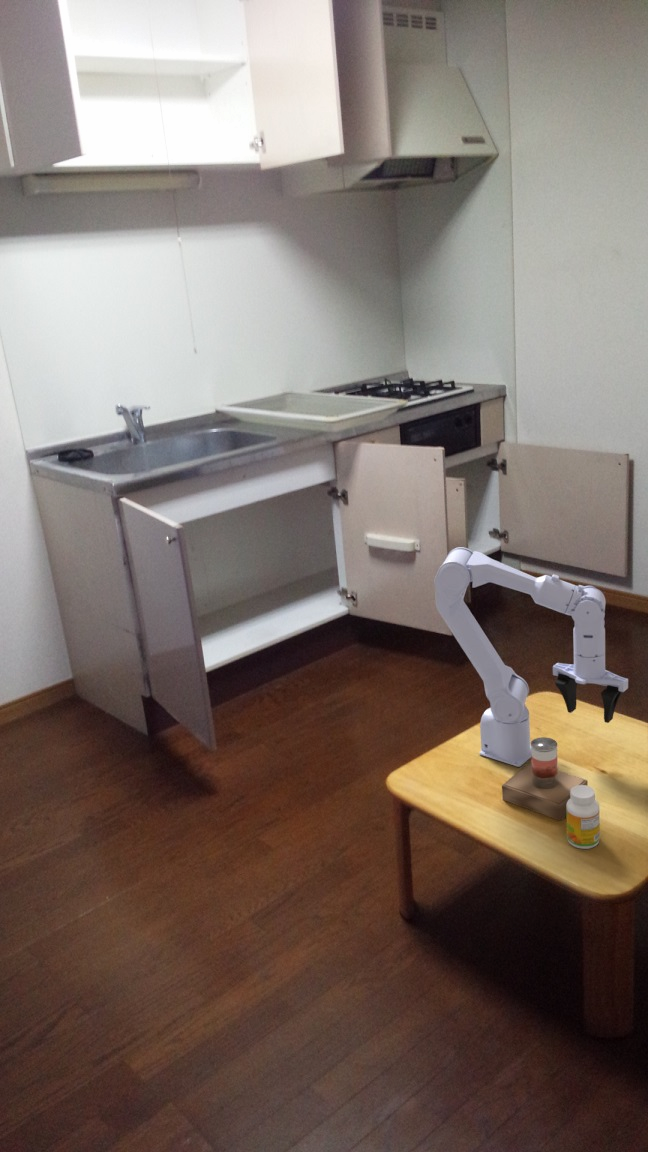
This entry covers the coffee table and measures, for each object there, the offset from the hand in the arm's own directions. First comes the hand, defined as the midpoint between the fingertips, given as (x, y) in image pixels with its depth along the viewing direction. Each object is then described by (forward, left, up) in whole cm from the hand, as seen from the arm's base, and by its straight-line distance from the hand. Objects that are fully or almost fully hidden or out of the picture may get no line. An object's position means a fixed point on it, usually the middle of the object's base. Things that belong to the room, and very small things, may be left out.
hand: (590, 715), depth 174 cm
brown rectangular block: (-1, -16, -10) cm, 19 cm away
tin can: (-1, -16, -7) cm, 17 cm away
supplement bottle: (+11, -24, -10) cm, 28 cm away
